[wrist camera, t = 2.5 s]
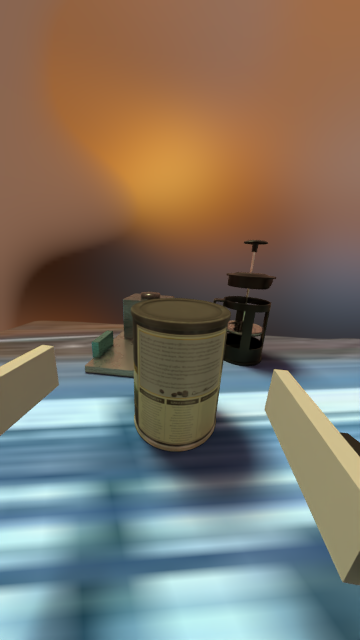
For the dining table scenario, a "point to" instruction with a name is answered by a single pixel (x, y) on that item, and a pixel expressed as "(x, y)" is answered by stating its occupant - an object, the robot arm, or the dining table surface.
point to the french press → (246, 316)
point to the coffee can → (177, 370)
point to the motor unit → (118, 343)
